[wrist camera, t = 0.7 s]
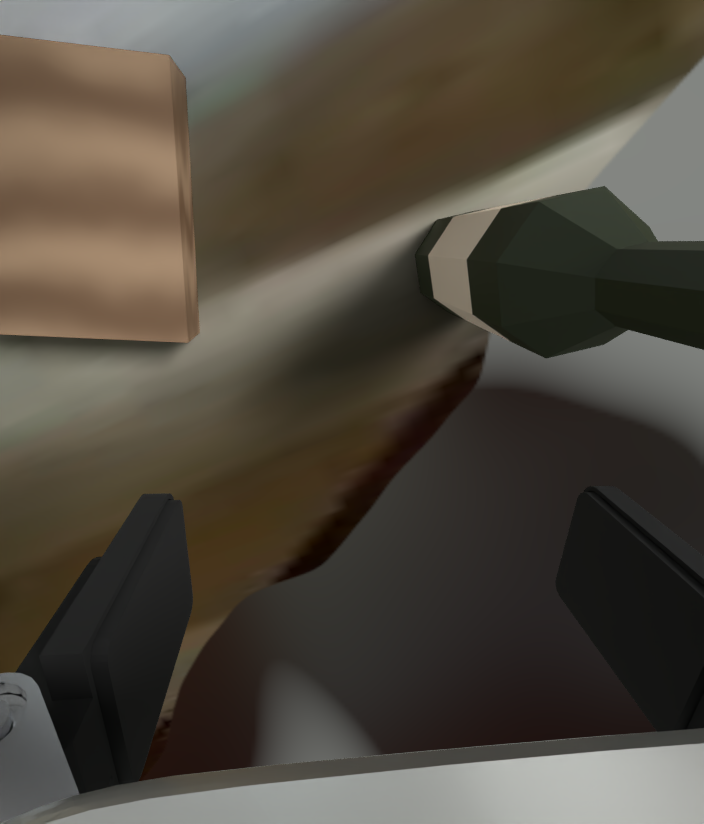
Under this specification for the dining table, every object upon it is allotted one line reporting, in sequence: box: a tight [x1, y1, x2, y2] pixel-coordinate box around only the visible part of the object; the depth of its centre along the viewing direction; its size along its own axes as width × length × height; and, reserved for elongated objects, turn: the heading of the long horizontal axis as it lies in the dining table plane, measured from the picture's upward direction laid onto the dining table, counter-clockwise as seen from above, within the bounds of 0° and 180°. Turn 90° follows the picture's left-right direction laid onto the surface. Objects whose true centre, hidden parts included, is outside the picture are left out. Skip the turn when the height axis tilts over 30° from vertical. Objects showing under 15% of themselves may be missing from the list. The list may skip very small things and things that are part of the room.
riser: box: [0, 35, 200, 343], centre depth 31 cm, size 18×18×4 cm
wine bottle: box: [415, 186, 704, 358], centre depth 23 cm, size 8×8×30 cm
